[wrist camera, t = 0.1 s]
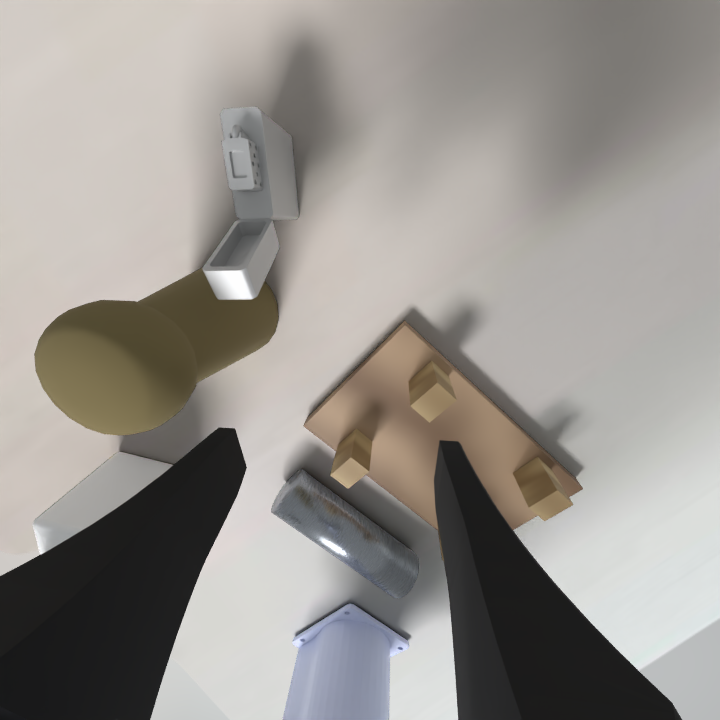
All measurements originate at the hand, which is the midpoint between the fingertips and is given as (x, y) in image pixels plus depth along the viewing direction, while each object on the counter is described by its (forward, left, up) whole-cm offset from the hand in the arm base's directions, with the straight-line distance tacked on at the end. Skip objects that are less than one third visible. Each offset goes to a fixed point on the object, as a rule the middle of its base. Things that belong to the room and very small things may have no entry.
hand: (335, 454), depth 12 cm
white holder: (+3, +9, -11) cm, 14 cm away
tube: (-12, -9, -11) cm, 18 cm away
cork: (-4, +8, -11) cm, 14 cm away
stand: (-2, -9, -11) cm, 14 cm away
